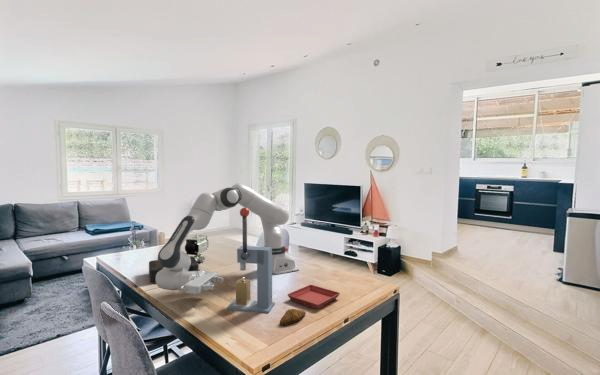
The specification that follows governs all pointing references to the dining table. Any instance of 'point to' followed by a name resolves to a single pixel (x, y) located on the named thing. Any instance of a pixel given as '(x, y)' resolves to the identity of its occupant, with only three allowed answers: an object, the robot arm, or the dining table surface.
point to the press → (264, 279)
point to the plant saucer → (313, 296)
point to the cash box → (156, 267)
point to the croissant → (292, 316)
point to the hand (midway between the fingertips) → (218, 283)
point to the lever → (244, 232)
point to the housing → (243, 291)
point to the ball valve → (196, 247)
